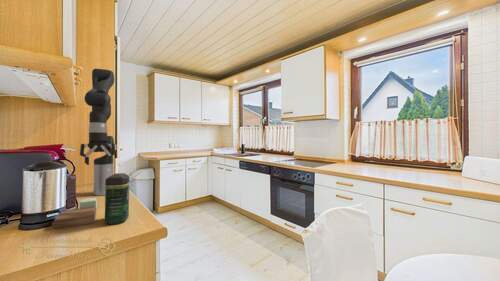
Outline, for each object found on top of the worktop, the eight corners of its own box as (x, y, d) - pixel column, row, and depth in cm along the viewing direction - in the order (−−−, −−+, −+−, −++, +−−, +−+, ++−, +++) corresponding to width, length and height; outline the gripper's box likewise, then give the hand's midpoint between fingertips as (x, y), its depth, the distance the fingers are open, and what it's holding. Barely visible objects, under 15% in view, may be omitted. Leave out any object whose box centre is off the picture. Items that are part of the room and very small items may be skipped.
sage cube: (81, 211, 92) (81, 199, 92) (96, 209, 95) (96, 197, 95) (79, 215, 87) (79, 202, 87) (95, 213, 90) (95, 200, 90)
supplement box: (76, 208, 95) (76, 173, 95) (66, 212, 90) (66, 175, 90) (59, 207, 96) (59, 173, 96) (48, 211, 91) (48, 175, 91)
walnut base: (59, 218, 84) (59, 211, 84) (96, 212, 90) (96, 206, 90) (51, 230, 74) (51, 221, 73) (94, 222, 80) (94, 215, 80)
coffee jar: (126, 223, 80) (127, 175, 80) (102, 226, 77) (102, 176, 77) (130, 214, 89) (131, 171, 89) (108, 216, 86) (109, 172, 86)
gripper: (112, 132, 112) (113, 162, 112) (79, 132, 102) (79, 164, 102) (116, 132, 107) (116, 163, 107) (81, 131, 97) (81, 165, 97)
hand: (98, 164), depth 105 cm, fingers open, 8 cm apart
